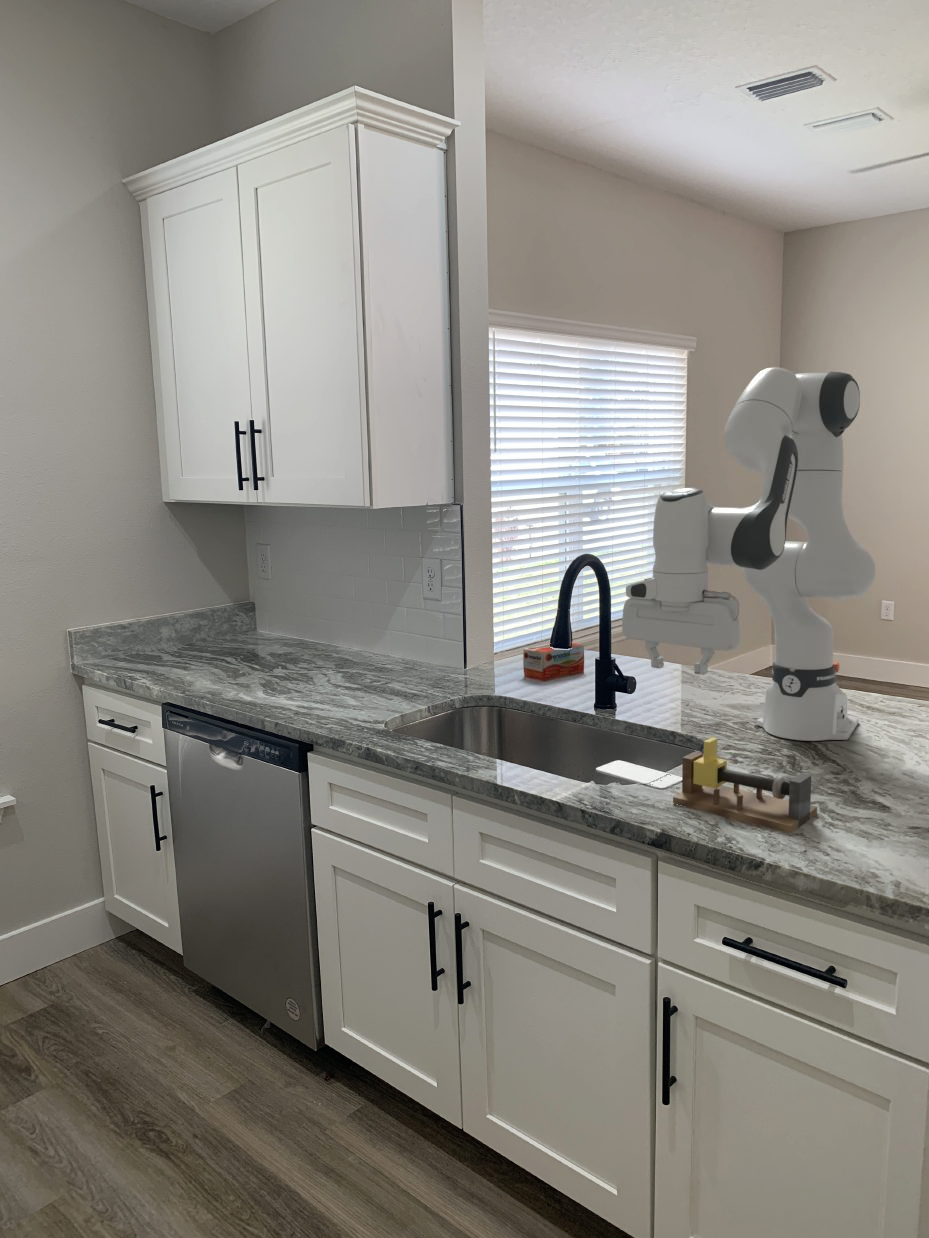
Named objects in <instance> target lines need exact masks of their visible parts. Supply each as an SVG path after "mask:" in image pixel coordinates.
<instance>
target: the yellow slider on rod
mask: <svg viewBox="0 0 929 1238" xmlns="http://www.w3.org/2000/svg"><path fill="white" fill-rule="evenodd" d="M703 756H704V752H702V753H701V752H698V751H693V752H691V753H689V754H687V755H685V756H683V757H682V766H681V767H682V771H681V773H682V776H681V777H682V782H681V787H682V788H681V790H682V791H681V792H680V793H678V794H676V795H674V796H672V804H673V803H674V804H673V805H675V804H678V805H677V806H679V805H682V806H681V807H683V806H686V807H685V808H687V807H689V808H688V809H691V808H693V809H692V810H695V809H697V810H696V811H699V810H700V811H699V812H704V813H708V814H711V815H715V816H718V817H719V816H720V817H724V818H727V819H732V820H736V821H740V822H745V823H746V824H747V823H748V824H752V825H755V826H759V827H763V828H768V829H771V830H776V831H779V832H784V833H787V834H792V833H794V832H795V831H797V829H799V828H800V827H802V826H803V825H804V824H806V823H807V822H808V821H809V820H811V819H812V818H814V817H815V816H817V815H818V806H814V805H811V802H812V801H811V798H812V797H811V796H812V795H811V793H812V774H806V773H799V774H798V775H796V776H794V777H793V778H791V779H790V780H788V777H787V776H785V775H780V774H778V775H777V776H775V778H774V779H773V778H770V777H766V776H765V777H764V776H759V775H755V774H752V773H746V772H740V771H736V770H731V769H723V768H718V779H717V780H721V781H725V782H726V783H729V784H733V787H732V786H727V785H724V784H723V785H721V786H719V787H718V788H716V789H715V788H711V787H706V786H702V785H698V784H693V775H694V761H696V760H698V759H699V758H701V757H703ZM740 786H742V787H743V786H744V787H748V788H753V789H756V792H753V791H748V790H745V789H744V790H743V789H740ZM763 791H767V792H771V793H772V795H767V794H763ZM786 796H788V797H789V798H788V799H785V797H786Z"/></svg>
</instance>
